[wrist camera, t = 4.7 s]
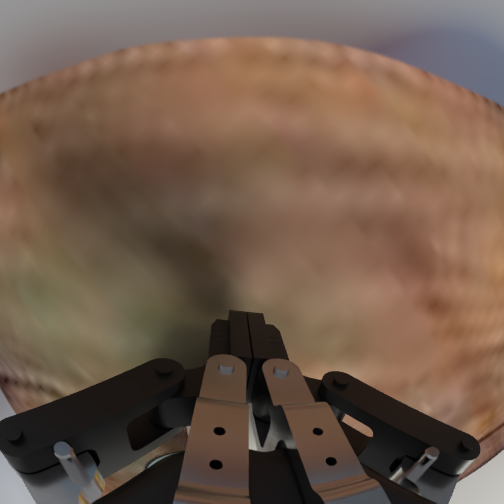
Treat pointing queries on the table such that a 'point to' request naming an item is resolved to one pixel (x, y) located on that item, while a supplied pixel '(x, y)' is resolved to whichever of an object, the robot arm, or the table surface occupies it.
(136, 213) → the table surface
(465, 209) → the table surface
